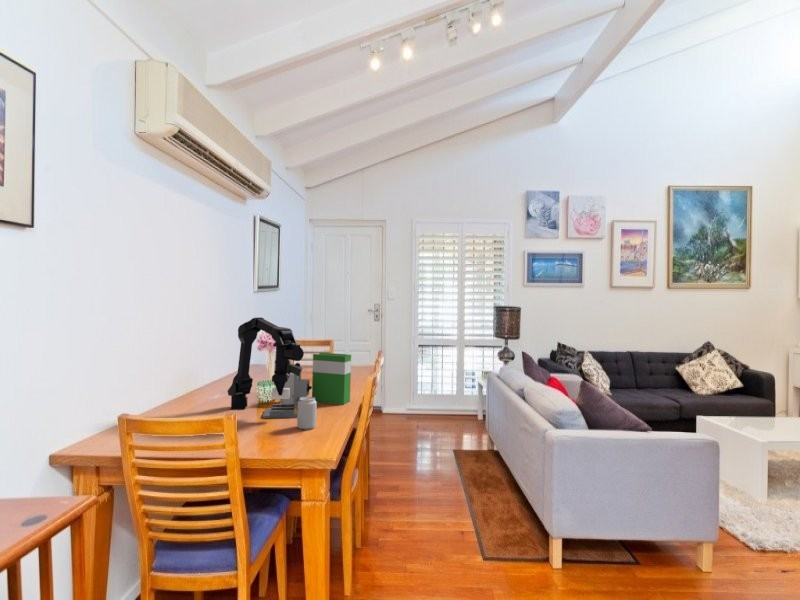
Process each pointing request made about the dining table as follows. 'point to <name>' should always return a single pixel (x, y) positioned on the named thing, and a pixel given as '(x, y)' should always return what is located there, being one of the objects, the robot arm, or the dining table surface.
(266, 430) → the dining table surface
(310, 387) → the circuit breaker
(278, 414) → the rack
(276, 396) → the white rectangular prism
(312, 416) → the can
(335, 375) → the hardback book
